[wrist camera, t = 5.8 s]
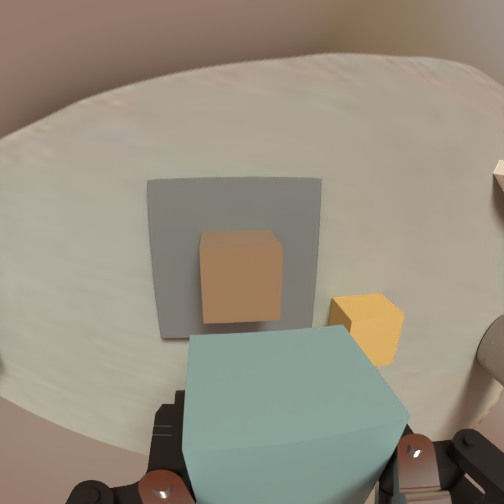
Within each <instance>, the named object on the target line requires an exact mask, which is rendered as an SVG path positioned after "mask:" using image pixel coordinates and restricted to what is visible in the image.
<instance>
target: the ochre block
mask: <svg viewBox="0 0 504 504" xmlns="http://www.w3.org/2000/svg"><path fill="white" fill-rule="evenodd" d="M404 315H405V314H404V313H403V312H402V311H400V310H399V309H398V308H397V307H396V306H395V305H393V304H392V303H391V302H390V301H389V300H388V299H386V298H385V297H384V296H383V295H382V294H381V293H378V294H368V295H356V296H345V297H332V302H331V310H330V318H329V326H334V325H344V327H345V328H346V329H347V331H348V332H349V333H350V335H351V336H352V337H353V338H354V340H355V341H356V342H357V344H358V345H359V346H360V348H361V349H362V350H363V352H364V353H365V354H366V356H367V357H368V358H369V360H370V361H371V362H372V364H373V365H374V366H375V367H377V366H382V365H387V364H392V363H393V359H394V356H395V352H396V348H397V345H398V341H399V337H400V333H401V328H402V324H403V320H404Z"/></svg>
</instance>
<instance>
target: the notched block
mask: <svg viewBox="0 0 504 504" xmlns="http://www.w3.org/2000/svg"><path fill="white" fill-rule="evenodd" d="M493 174H494V176H495V178H496V179H497V181H498V183H499V185H500V186H501V188H502V190H503V192H504V160H499V162H498V164H497V166H496V168H495V170H494V172H493Z"/></svg>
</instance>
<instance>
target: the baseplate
mask: <svg viewBox="0 0 504 504" xmlns="http://www.w3.org/2000/svg"><path fill="white" fill-rule="evenodd" d="M321 180H322V179H319V178H297V177H208V178H178V179H157V180H148V181H147V190H148V212H149V228H150V242H151V254H152V265H153V275H154V285H155V294H156V302H157V310H158V318H159V325H160V332H161V338H190V335H207V334H232V333H251V332H266V331H280V330H292V329H304V328H312V319H313V308H314V298H315V286H316V273H317V260H318V245H319V227H320V207H321Z"/></svg>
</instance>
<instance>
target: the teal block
mask: <svg viewBox="0 0 504 504" xmlns="http://www.w3.org/2000/svg"><path fill="white" fill-rule="evenodd" d="M409 418H410V414H409V412H408V411H407V410H406V408H405V407H404V405H403V404H402V403H401V401H400V400H399V399H398V397H397V396H396V395H395V393H394V392H393V390H392V389H391V388H390V386H389V385H388V384H387V382H386V381H385V380H384V378H383V377H382V376H381V374H380V373H379V372H378V370H377V369H376V368H375V366H374V365H373V364H372V362H371V361H370V360H369V358H368V357H367V356H366V354H365V353H364V352H363V350H362V349H361V348H360V346H359V345H358V344H357V342H356V341H355V340H354V338H353V337H352V336H351V335H350V333H349V332H348V331H347V329H346V328H345V327H344V325H334V326H324V327H314V328H304V329H292V330H280V331H266V332H251V333H232V334H207V335H190V339H189V350H188V362H187V375H186V388H185V403H184V420H183V439H182V452H183V455H184V459H185V463H186V467H187V470H188V474H189V477H190V481H191V484H192V488H193V491H194V494H195V498H196V501H197V504H364V503H365V501H366V499H367V498H368V496H369V495H370V493H371V491H372V490H373V488H374V486H375V485H376V483H377V481H378V479H379V478H380V476H381V474H382V472H383V470H384V469H385V467H386V465H387V463H388V461H389V459H390V457H391V455H392V453H393V452H394V450H395V448H396V446H397V444H398V441H399V439H400V437H401V435H402V433H403V431H404V429H405V427H406V424H407V422H408V420H409Z"/></svg>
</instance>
